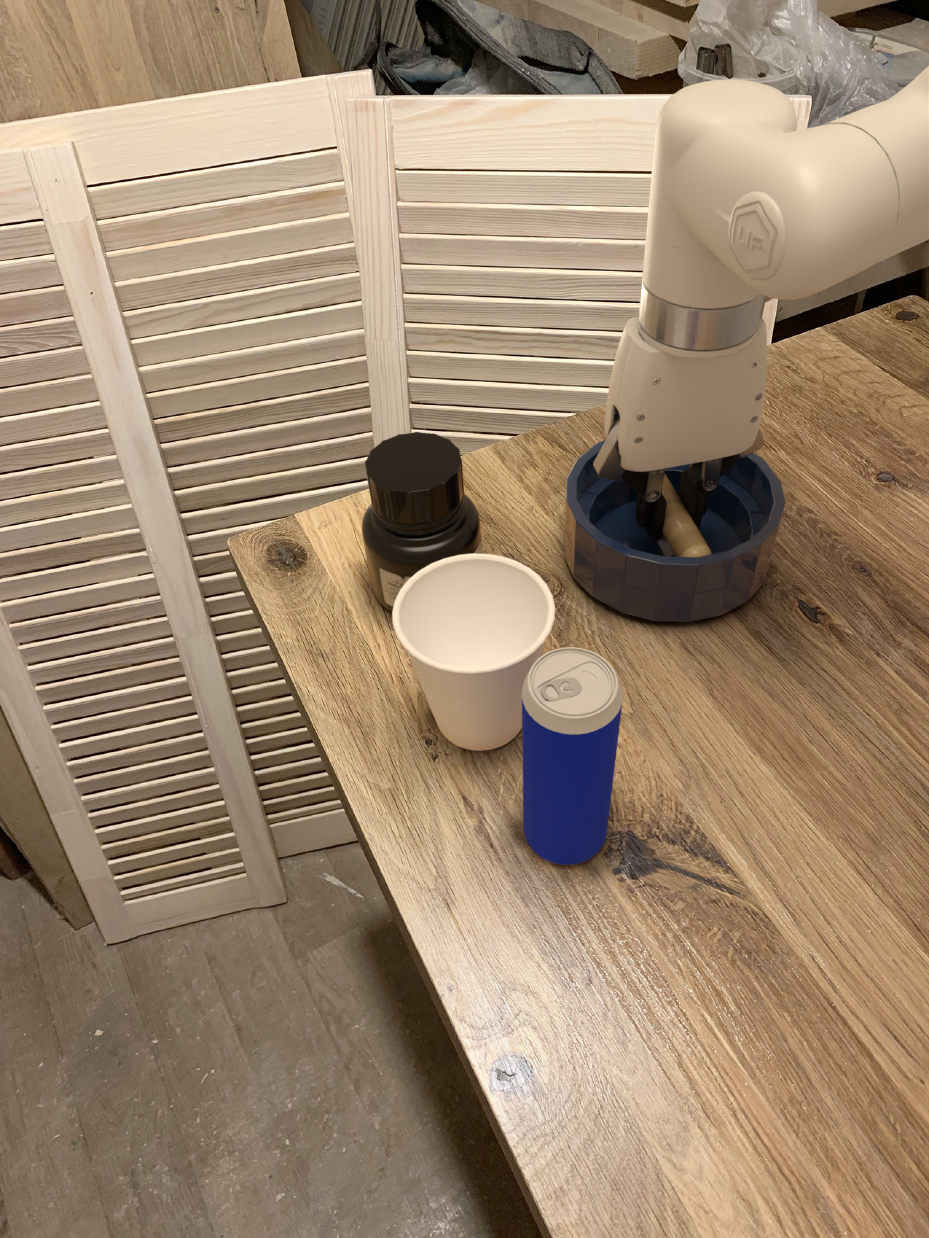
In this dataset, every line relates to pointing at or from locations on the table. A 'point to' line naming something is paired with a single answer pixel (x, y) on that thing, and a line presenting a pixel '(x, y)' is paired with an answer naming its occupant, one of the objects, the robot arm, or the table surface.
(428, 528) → the ink bottle
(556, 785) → the beverage can
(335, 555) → the table surface
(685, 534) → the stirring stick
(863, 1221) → the table surface
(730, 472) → the bowl
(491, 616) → the cup
